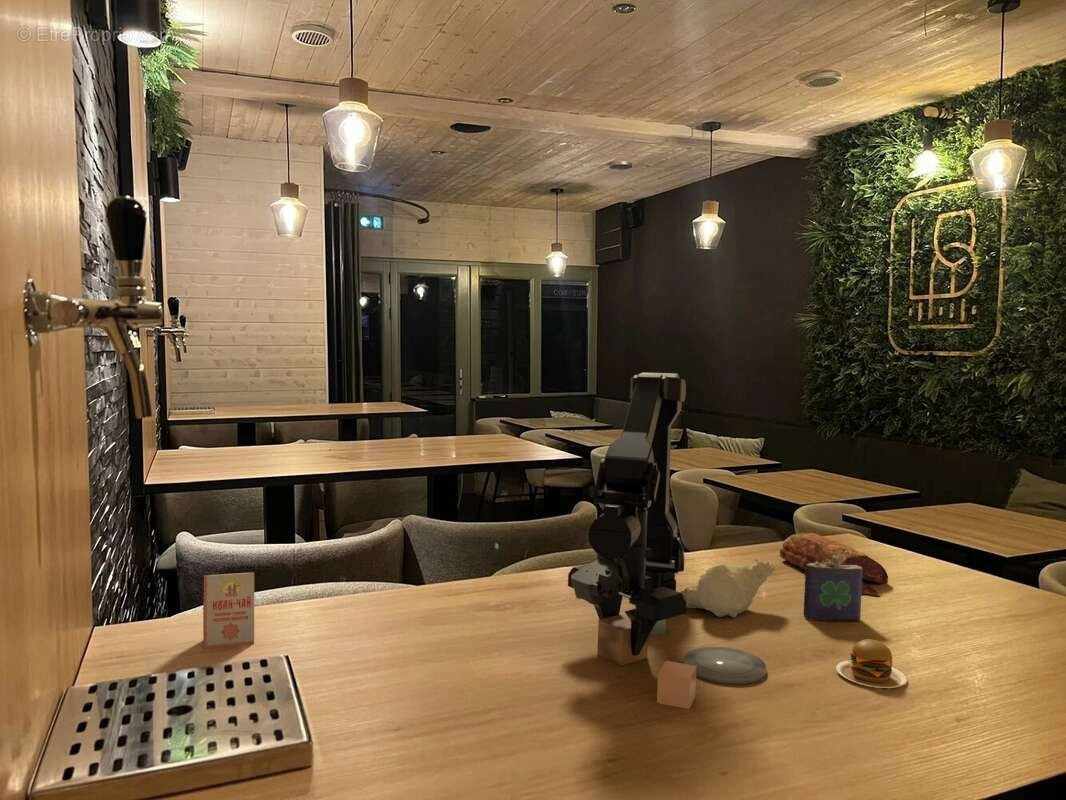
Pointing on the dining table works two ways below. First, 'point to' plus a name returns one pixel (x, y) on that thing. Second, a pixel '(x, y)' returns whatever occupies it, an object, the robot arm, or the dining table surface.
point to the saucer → (726, 665)
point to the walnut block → (617, 640)
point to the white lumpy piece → (728, 588)
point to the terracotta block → (676, 684)
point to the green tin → (659, 628)
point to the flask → (833, 591)
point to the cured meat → (822, 549)
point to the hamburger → (871, 663)
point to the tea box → (228, 610)
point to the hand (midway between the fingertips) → (622, 648)
